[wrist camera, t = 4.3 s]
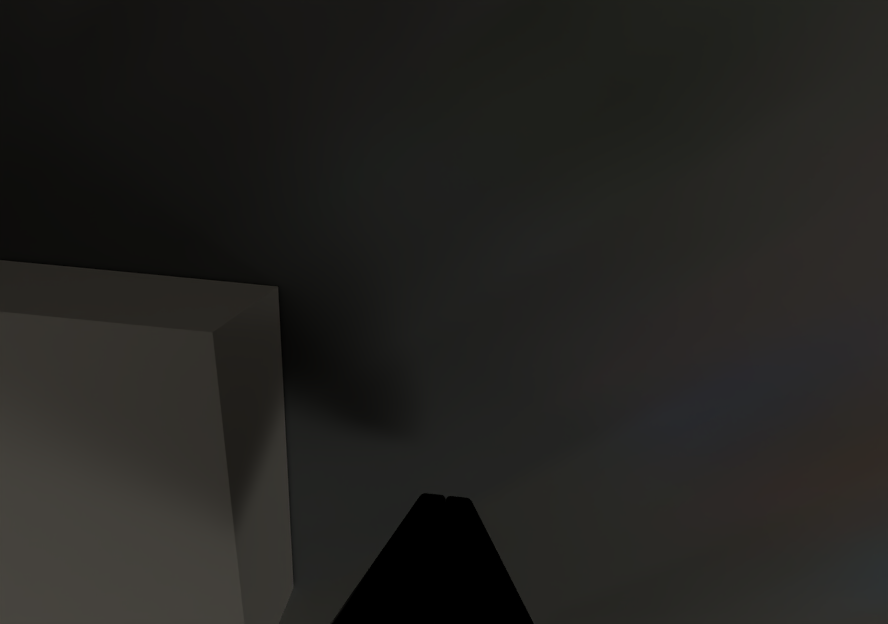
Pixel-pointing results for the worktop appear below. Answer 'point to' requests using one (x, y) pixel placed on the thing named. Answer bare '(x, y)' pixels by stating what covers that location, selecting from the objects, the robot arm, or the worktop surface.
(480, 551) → the robot arm
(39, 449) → the thin gray tile
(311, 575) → the worktop surface
